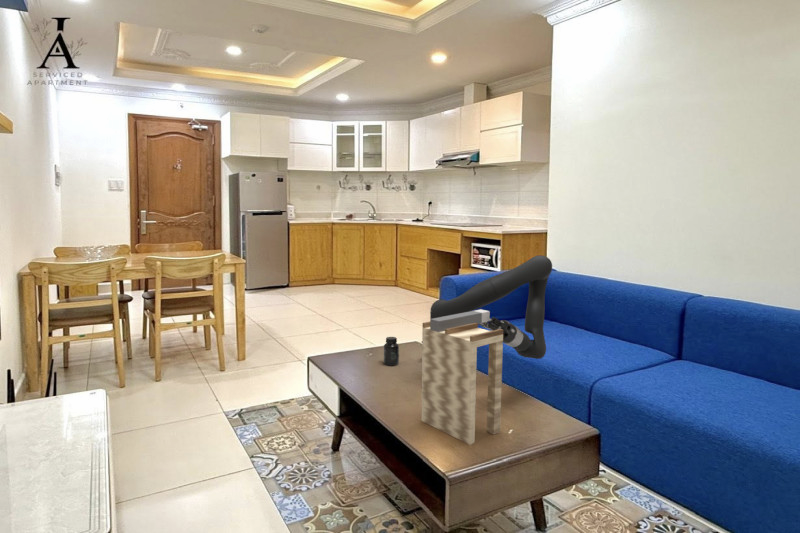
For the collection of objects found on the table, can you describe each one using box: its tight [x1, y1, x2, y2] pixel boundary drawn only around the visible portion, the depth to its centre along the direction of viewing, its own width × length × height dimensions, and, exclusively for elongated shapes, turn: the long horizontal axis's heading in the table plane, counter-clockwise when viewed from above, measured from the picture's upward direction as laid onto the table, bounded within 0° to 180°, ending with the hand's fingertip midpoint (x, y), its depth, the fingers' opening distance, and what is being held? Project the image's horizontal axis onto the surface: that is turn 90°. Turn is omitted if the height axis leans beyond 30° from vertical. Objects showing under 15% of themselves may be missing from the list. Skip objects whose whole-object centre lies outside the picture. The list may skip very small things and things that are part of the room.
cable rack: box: [420, 321, 504, 445], centre depth 168 cm, size 22×14×34 cm, turn 39°
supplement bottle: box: [383, 336, 400, 367], centre depth 234 cm, size 7×7×12 cm
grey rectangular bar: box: [429, 308, 491, 332], centre depth 173 cm, size 4×24×4 cm, turn 129°
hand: (482, 317), depth 180 cm, fingers open, 8 cm apart
